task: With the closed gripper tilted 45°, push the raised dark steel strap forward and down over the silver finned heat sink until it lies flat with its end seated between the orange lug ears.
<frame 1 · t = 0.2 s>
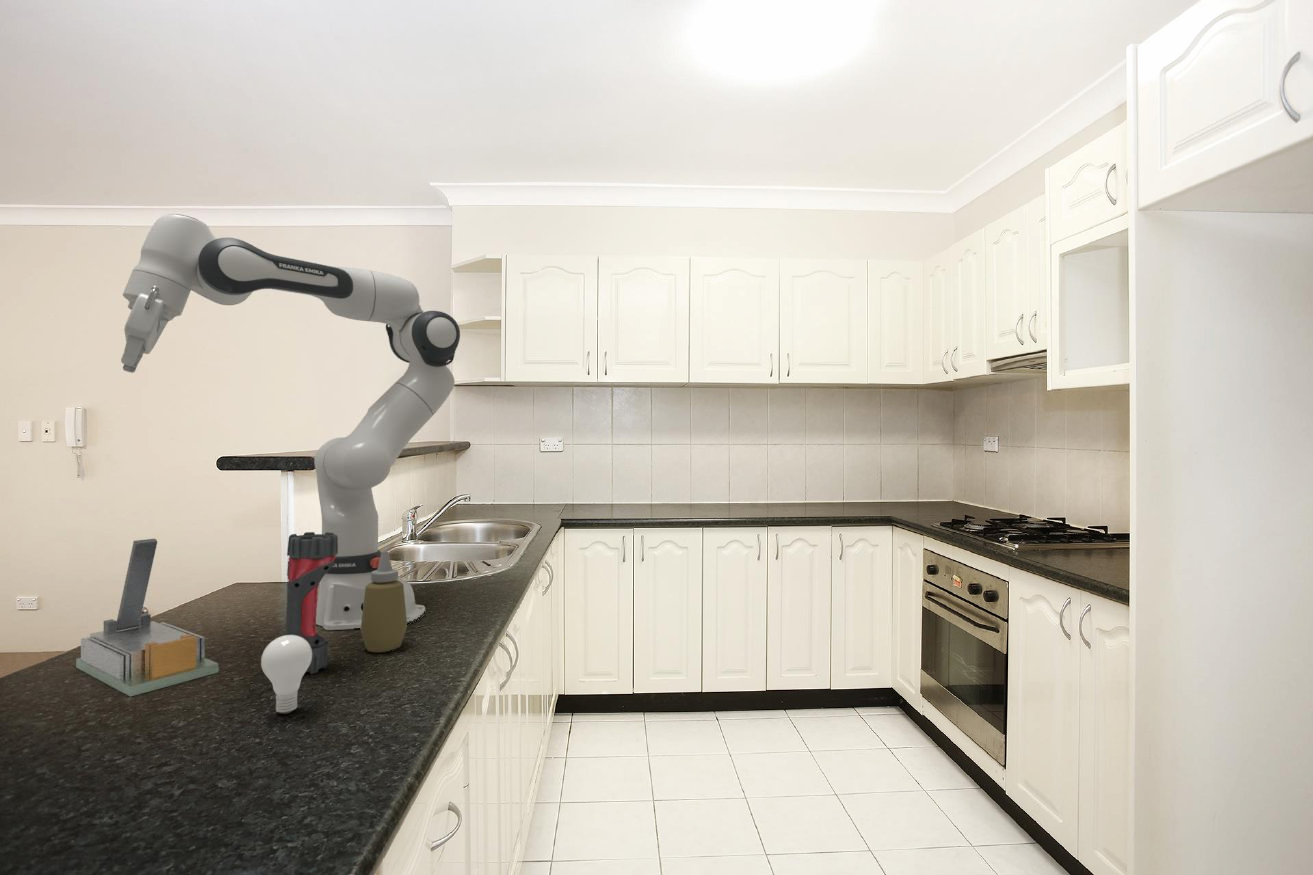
hand: (127, 368, 115), 51 cm above the countertop, tool tilted 15°, fingers open, 8 cm apart
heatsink: (146, 669, 108), on the countertop
flashlight: (310, 670, 109), on the countertop
squeeze bottle: (384, 649, 120), on the countertop
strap: (136, 585, 111), point 14 cm above the countertop, hinge at 65.0°
lightbulb: (286, 714, 92), on the countertop
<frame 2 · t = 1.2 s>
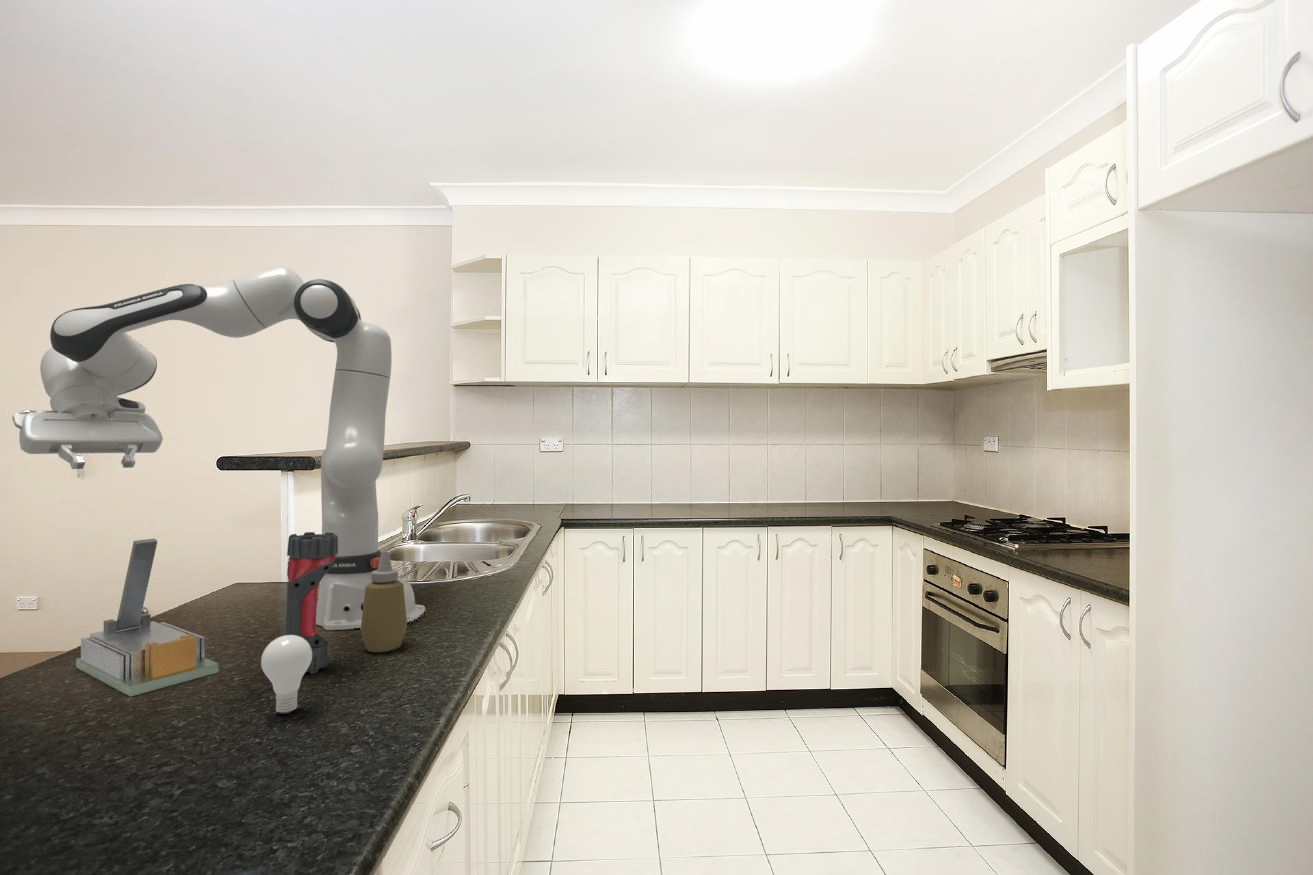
hand: (104, 466, 118), 34 cm above the countertop, tool tilted 45°, fingers open, 6 cm apart
nothing on the countertop moved.
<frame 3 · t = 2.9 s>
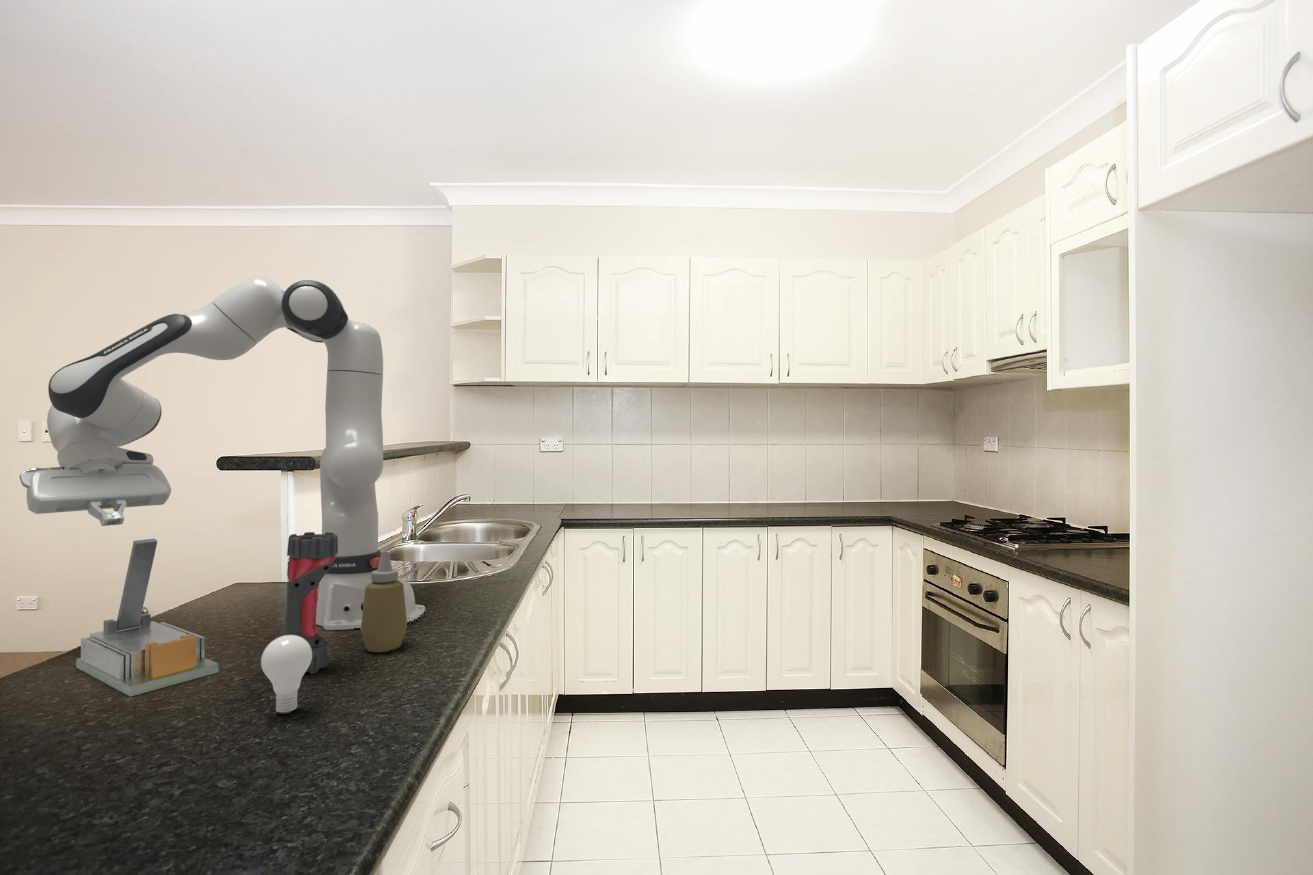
hand: (113, 523, 116), 23 cm above the countertop, tool tilted 45°, fingers closed
nothing on the countertop moved.
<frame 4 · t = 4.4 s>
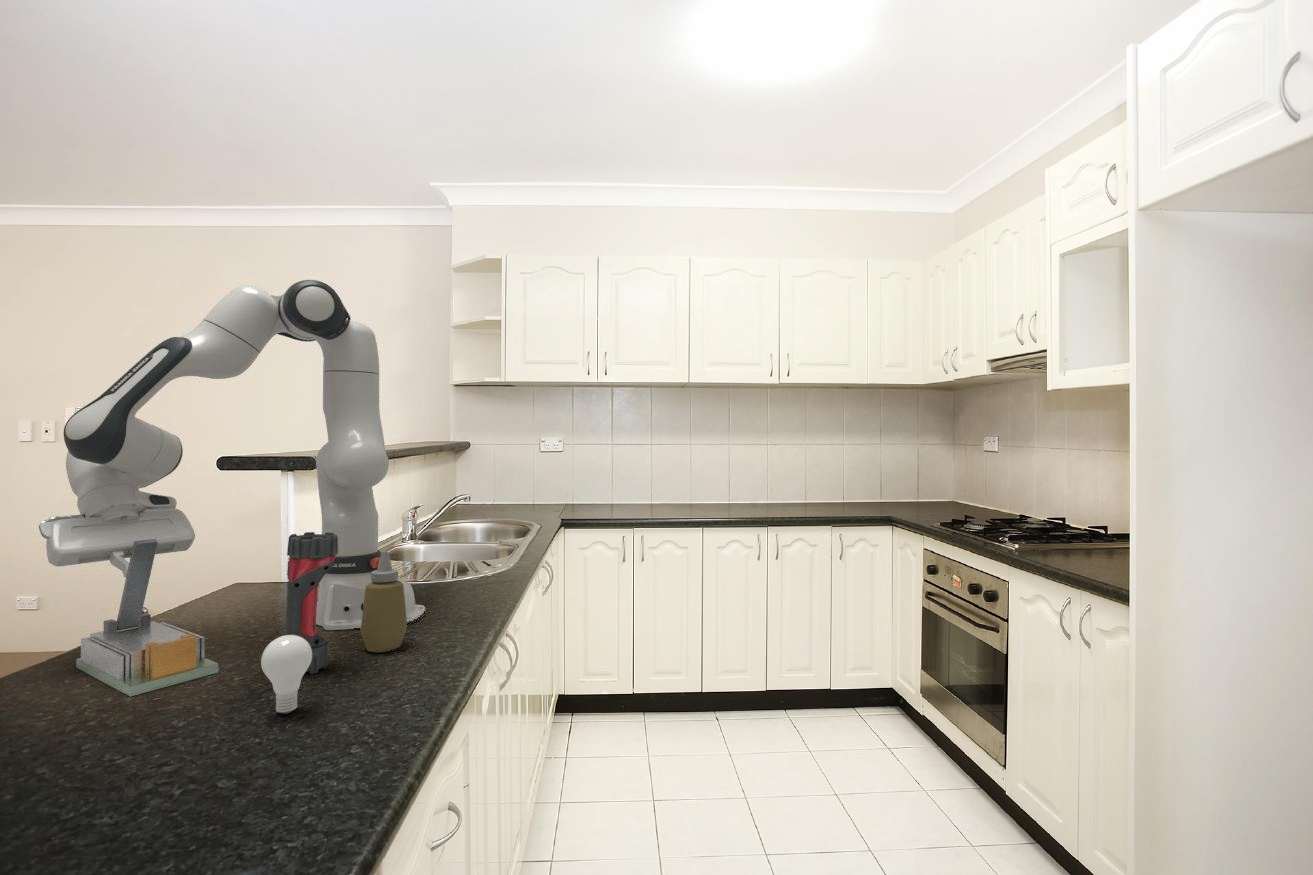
hand: (136, 573, 111), 16 cm above the countertop, tool tilted 45°, fingers closed, pressing on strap
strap: (136, 585, 111), point 14 cm above the countertop, hinge at 64.7°, touching gripper
everything else where it was.
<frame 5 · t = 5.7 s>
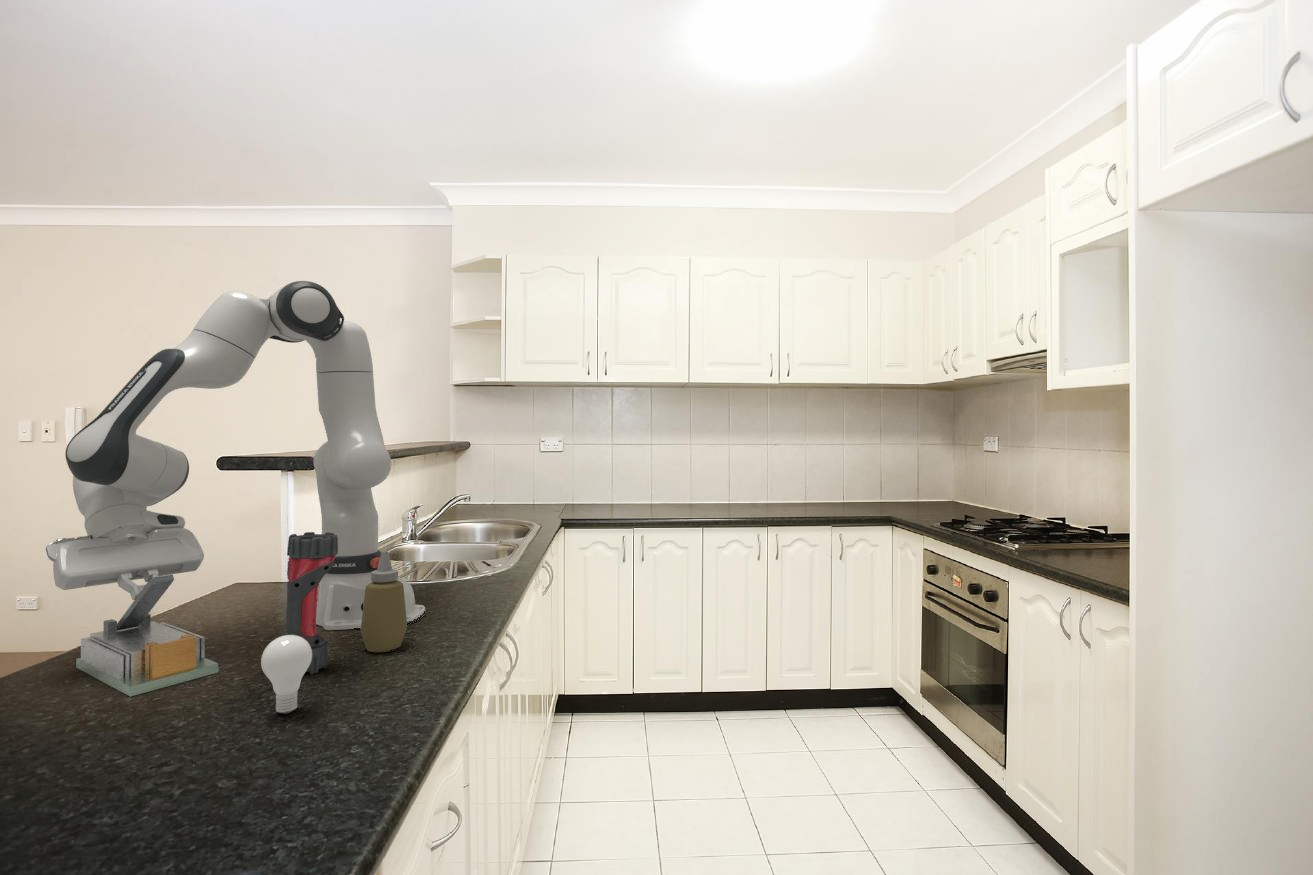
hand: (145, 596, 108), 12 cm above the countertop, tool tilted 45°, fingers closed, pressing on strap
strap: (144, 603, 109), point 11 cm above the countertop, hinge at 35.7°, touching gripper
everything else where it was.
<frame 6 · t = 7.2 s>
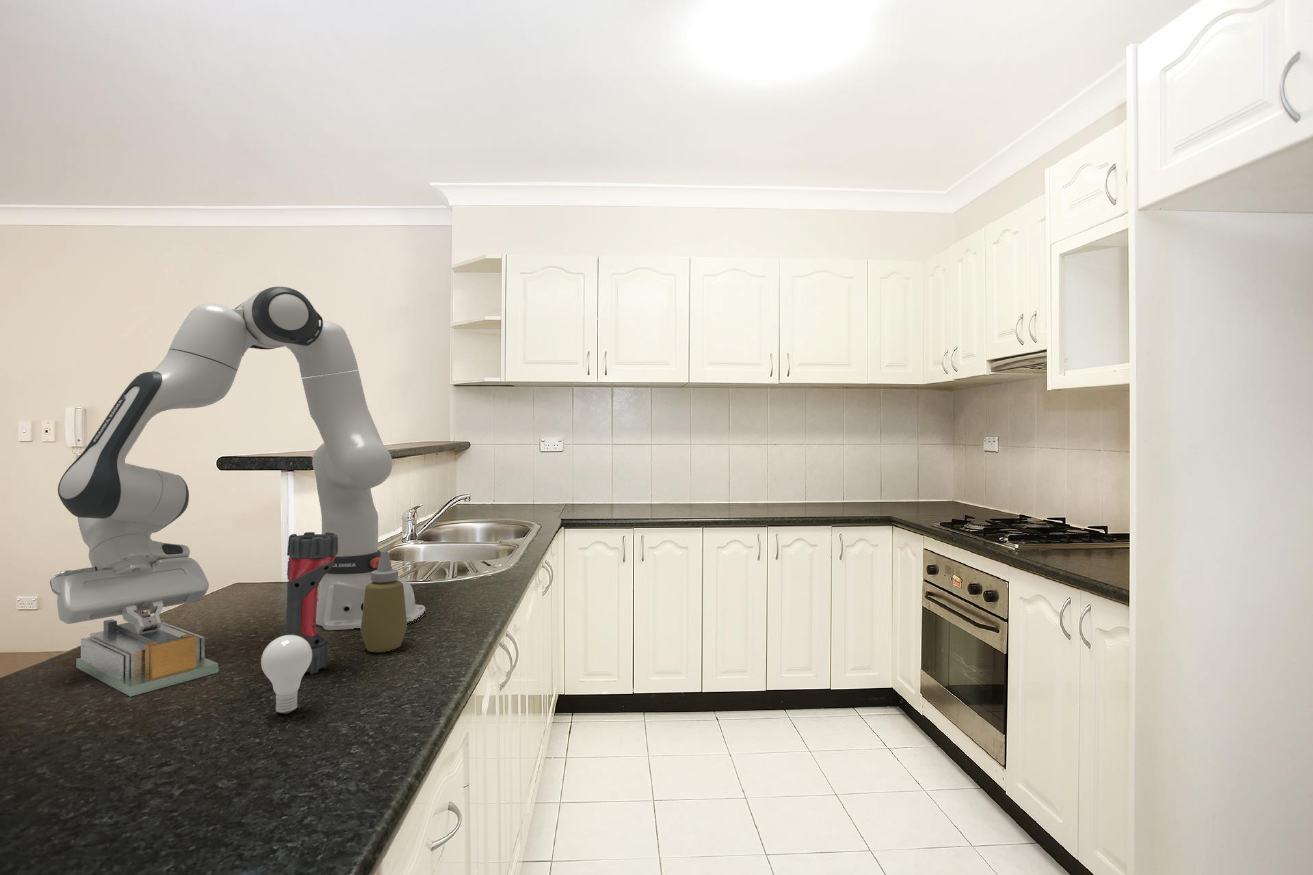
hand: (149, 629, 107), 7 cm above the countertop, tool tilted 45°, fingers closed, pressing on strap
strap: (147, 634, 108), point 6 cm above the countertop, hinge at -0.4°, touching gripper, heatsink
everything else where it was.
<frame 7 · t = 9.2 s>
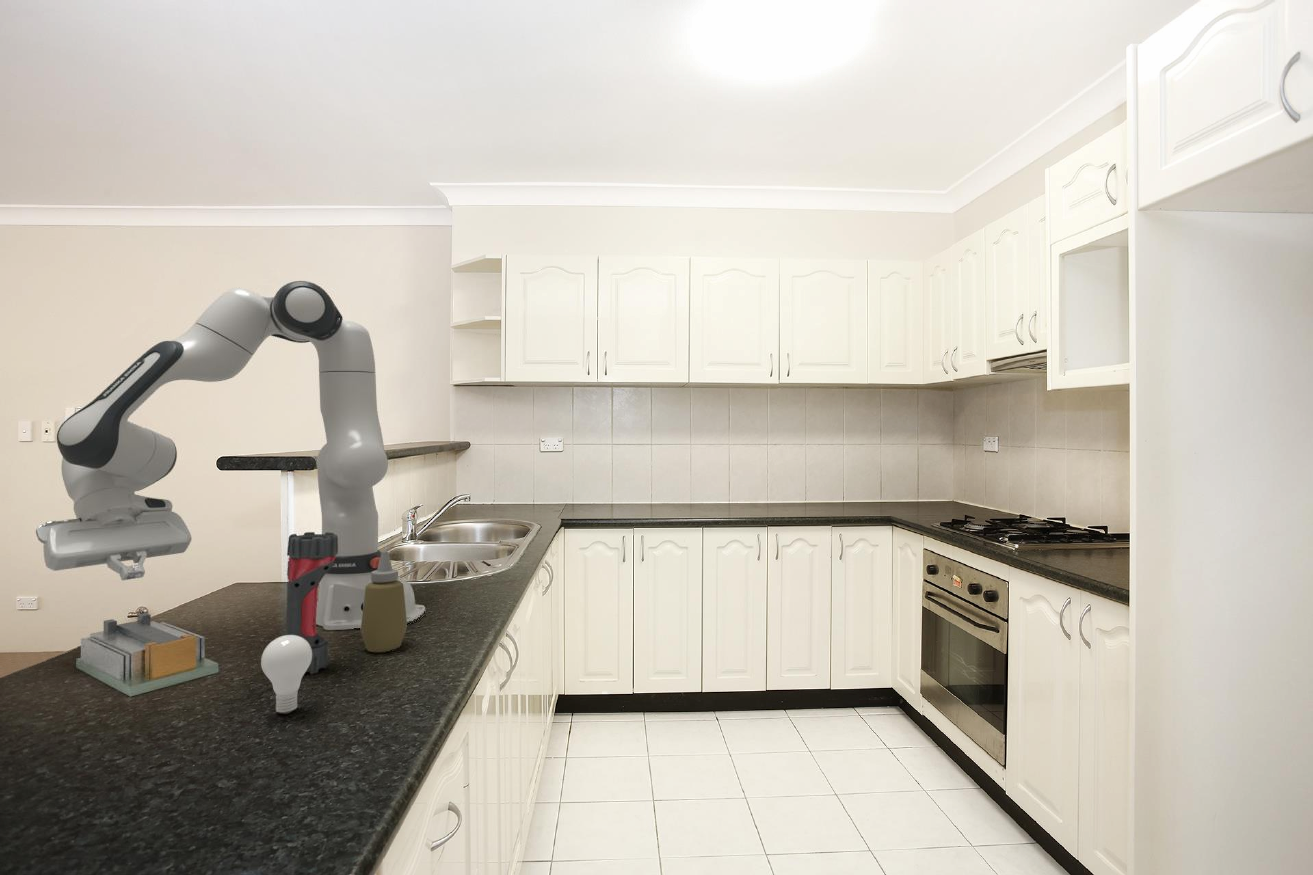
hand: (133, 576, 112), 15 cm above the countertop, tool tilted 45°, fingers closed
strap: (147, 634, 108), point 6 cm above the countertop, hinge at -0.4°, touching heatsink
everything else where it was.
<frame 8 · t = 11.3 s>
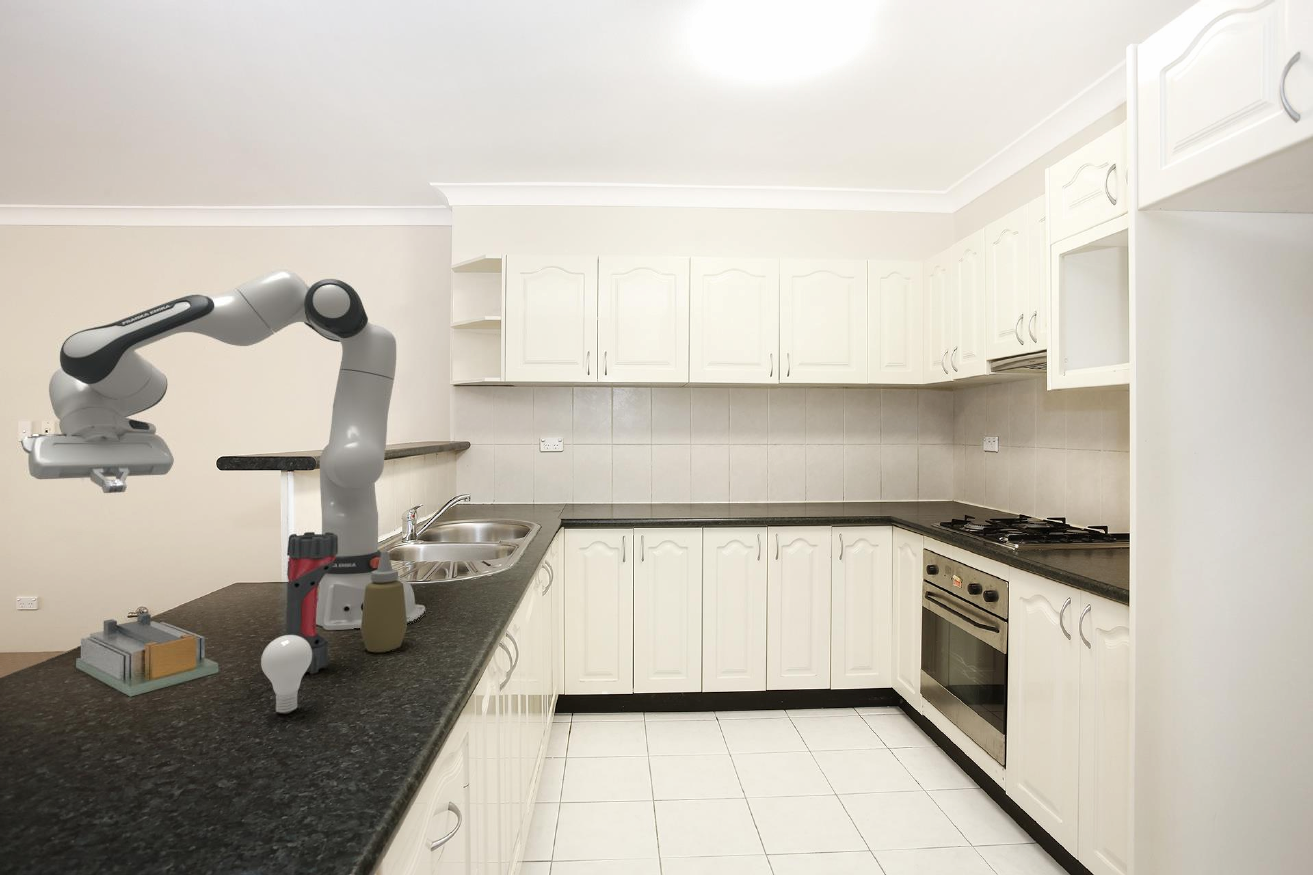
hand: (115, 490, 115), 29 cm above the countertop, tool tilted 45°, fingers closed
nothing on the countertop moved.
at the end: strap at +0° (first picture: +65°) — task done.
